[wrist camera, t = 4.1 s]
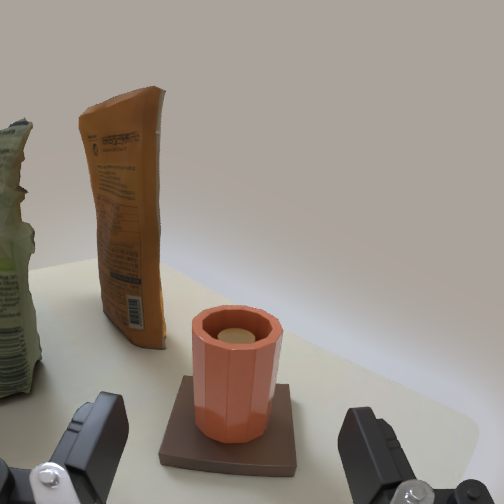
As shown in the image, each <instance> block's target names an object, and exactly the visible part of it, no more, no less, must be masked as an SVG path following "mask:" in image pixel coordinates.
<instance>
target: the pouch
mask: <svg viewBox="0 0 504 504" xmlns="http://www.w3.org/2000/svg"><path fill="white" fill-rule="evenodd" d="M32 128H33V124H32V122H28V121H26V119H25V118H24V119H21V120H19V121H16V122H15V123H13V124H11V125H10V126H9V127H8V128H6V129H4V130H0V398H1V397H4V396H8V395H11V394H15V393H18V392H25V393H28V394H29V392H30V388H31V383H32V375H33V369H34V366H35V363H36V361H37V360H42V356H41V352H42V349H41V347H40V338H39V335H38V332H37V326H36V311H35V308H34V305H33V301H32V296H31V293H30V291H29V284H28V264H29V260H30V256H31V254H32V253H34V252H35V242H34V235H35V231H34V229H33V228H32V227H31V225H30V224H29V223H25V222H22V219H21V209H20V203H21V202H22V201H23V200H24V199H25V193H28V192H27V190H25V189H24V188H22V187H21V186H19V182H20V169H21V162H22V161H24V160H25V157H24V152H23V150H24V146H25V144H26V141H27V139H28V136H29V133H30V131H31V129H32Z"/></svg>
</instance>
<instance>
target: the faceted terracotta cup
mask: <svg viewBox="0 0 504 504" xmlns="http://www.w3.org/2000/svg"><path fill="white" fill-rule="evenodd" d="M229 328H240V329H245V330H247V331H250V332H251V333H252V334H253V335H254V336H255V342H253V343H248V344H231V343H227V342H224V341H221V340H217V337H218V334H219V333H220V332H221V331H223V330H225V329H229ZM282 336H283V329H282V327H281V325H280V322H279V320H278V319H277V318H275V317H274V316H272V315H270V314H269V313H267V312H265V311H263V310H261V309H256V308H252V307H248V306H241V305H223V306H218V307H214V308H210V309H206V310H203V311H202V312H201V313H200V314H198V315H197V316H196V317H194V318H193V320H192V351H193V385H194V408H195V423H196V425H197V426H198V428H199V429H200V430H201V431H202V432H203V433H204V435H205V436H207V437H209V438H211V439H214V440H217V441H219V442H222V443H226V444H230V443H247V442H249V441H251V440H253V439H255V438H257V437H259V436H261V435H262V434H263V433H264V431H265V430H266V428H267V426H268V424H269V422H270V416H271V410H272V404H273V397H274V391H275V384H276V378H277V371H278V364H279V357H280V350H281V343H282Z"/></svg>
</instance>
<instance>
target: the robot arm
mask: <svg viewBox="0 0 504 504" xmlns="http://www.w3.org/2000/svg"><path fill="white" fill-rule="evenodd" d="M128 433H129V423H128V419H127V415H126V410H125V406H124V401H123V397H122V396H121V395H118V394H113V393H108V392H103V391H102V392H100V393H99V395H98V397H97V398H96V400H95V402H94V403H89V402H86V403H85V404H84V405H83V406H81V407H80V408H79V409H78V410H77V411H76V413H75V414H74V416H73V418H72V420H71V422H70V423H69V425H68V427H67V430H66V431H65V433H64V434H63V436H62V438H61V440H60V442H59V444H58V446H57V447H56V449H55V451H54V453H53V455H52V457H51V459H50V460H49V461H48V462H44V463H40V464H38V465H37V466H35V467H34V468H33V469H32V470H30V469H19V468H10V467H8V466H7V464H6V463H5V462H4V460H2V459H1V458H0V504H106V501H107V498H108V494H109V491H110V488H111V485H112V482H113V479H114V476H115V473H116V470H117V467H118V464H119V461H120V458H121V456H122V453H123V450H124V447H125V444H126V441H127V438H128ZM338 450H339V454H340V457H341V461H342V464H343V468H344V471H345V474H346V478H347V481H348V485H349V488H350V492H351V495H352V499H353V503H354V504H494V502H493V499H492V497H491V496H490V493H489V491H488V490H487V488H486V486H485V485H484V484H483V483H481V482H480V481H478V480H473V479H469V480H465V481H463V482H461V483H460V484H459V485H458V486H457V488H456V489H432V487H431V486H430V485H429V484H427V483H426V482H424V481H422V480H417V478H416V477H415V475H414V473H413V470H412V468H411V466H410V464H409V462H408V460H407V458H406V455H405V453H404V451H403V449H402V448H401V445H400V443H399V441H398V440H397V437H396V435H395V433H394V431H393V428H392V427H391V426H390V425H389V424H388V423H387V422H386V421H385V420H383V419H376V417H375V415H374V413H373V411H372V409H371V408H370V407H358V408H349V409H348V411H347V414H346V416H345V419H344V422H343V425H342V427H341V430H340V433H339V436H338Z"/></svg>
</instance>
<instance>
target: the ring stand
mask: <svg viewBox="0 0 504 504" xmlns="http://www.w3.org/2000/svg"><path fill="white" fill-rule="evenodd" d="M217 340H221V341H224V342H227V343H231V344H248V343H253V342H255V336H254V335H253V334H252V333H251V332H250V331H247V330H245V329H240V328H229V329H225V330H223V331H221V332H220V333H219V334H218V337H217ZM158 454H159V459H160V463H161V464H163V465H169V466H174V467H180V468H187V469H194V470H201V471H209V472H218V473H228V474H240V475H256V476H294V474H295V470H296V467H297V462H296V451H295V440H294V430H293V420H292V409H291V400H290V390H289V384H275V391H274V397H273V404H272V410H271V416H270V422H269V424H268V426H267V428H266V430H265V431H264V433H263V434H262V435H261V436H259V437H257V438H255V439H253V440H251V441H249V442H247V443H230V444H226V443H222V442H219V441H217V440H214V439H211V438H209V437H207V436H205V435H204V433H203V432H202V431H201V430H200V429H199V428H198V426H197V425H196V423H195V408H194V385H193V376H185V375H184V376H183V379H182V382H181V385H180V388H179V391H178V394H177V397H176V400H175V403H174V406H173V409H172V413H171V416H170V419H169V422H168V425H167V428H166V431H165V434H164V437H163V440H162V443H161V446H160V450H159V453H158Z"/></svg>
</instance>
